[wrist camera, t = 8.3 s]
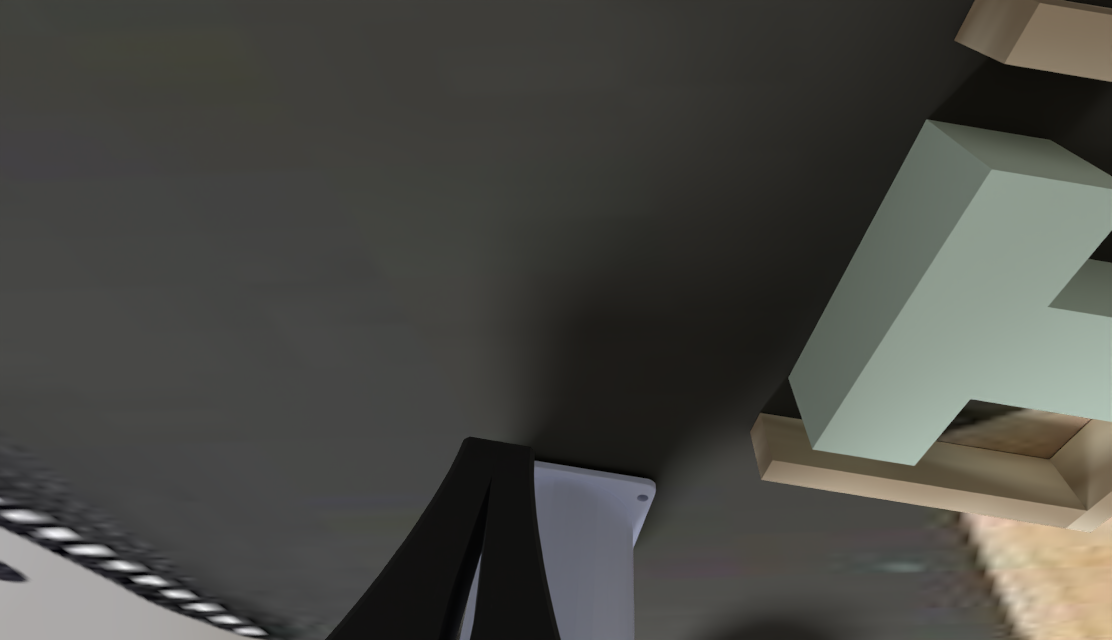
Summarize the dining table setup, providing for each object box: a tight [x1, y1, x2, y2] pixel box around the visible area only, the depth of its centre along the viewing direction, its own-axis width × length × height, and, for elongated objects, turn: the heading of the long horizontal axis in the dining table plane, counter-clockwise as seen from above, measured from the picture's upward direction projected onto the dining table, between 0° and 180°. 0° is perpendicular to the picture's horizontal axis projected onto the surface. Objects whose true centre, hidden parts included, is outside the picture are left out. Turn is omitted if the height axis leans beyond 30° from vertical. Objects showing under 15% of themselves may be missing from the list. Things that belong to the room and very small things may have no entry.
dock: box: [750, 0, 1112, 533], centre depth 18 cm, size 16×13×2 cm
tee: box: [788, 119, 1112, 466], centre depth 17 cm, size 10×10×4 cm
